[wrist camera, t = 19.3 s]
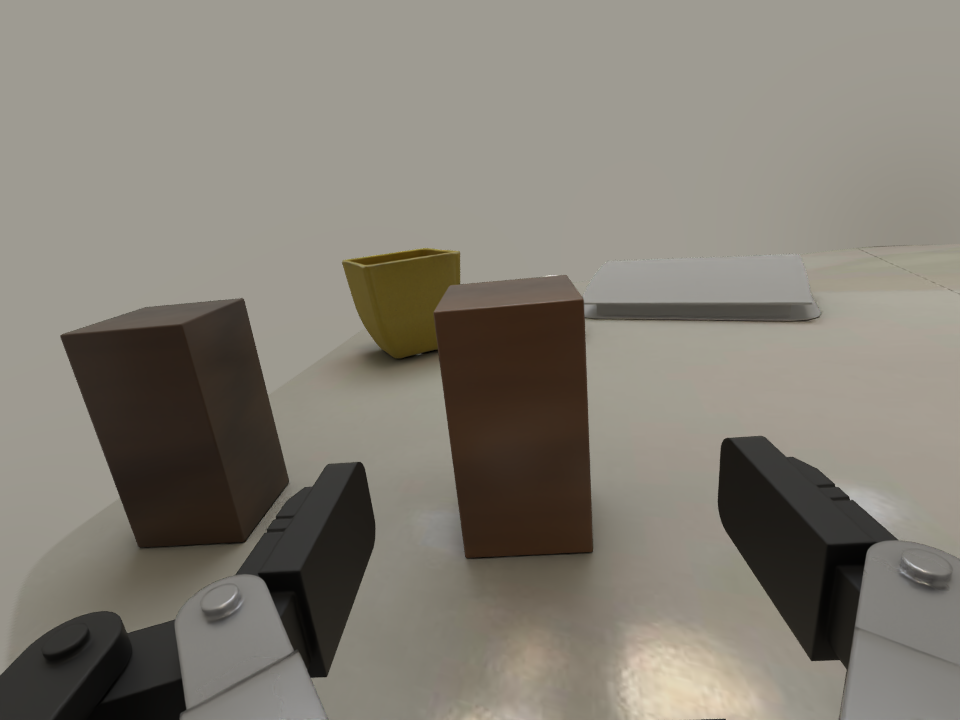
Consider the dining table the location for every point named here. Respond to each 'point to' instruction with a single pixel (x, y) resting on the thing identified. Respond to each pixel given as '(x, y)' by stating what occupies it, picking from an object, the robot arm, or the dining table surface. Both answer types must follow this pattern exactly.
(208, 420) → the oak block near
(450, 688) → the dining table surface
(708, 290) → the book
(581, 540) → the walnut block middle
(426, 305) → the flower pot
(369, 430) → the dining table surface
